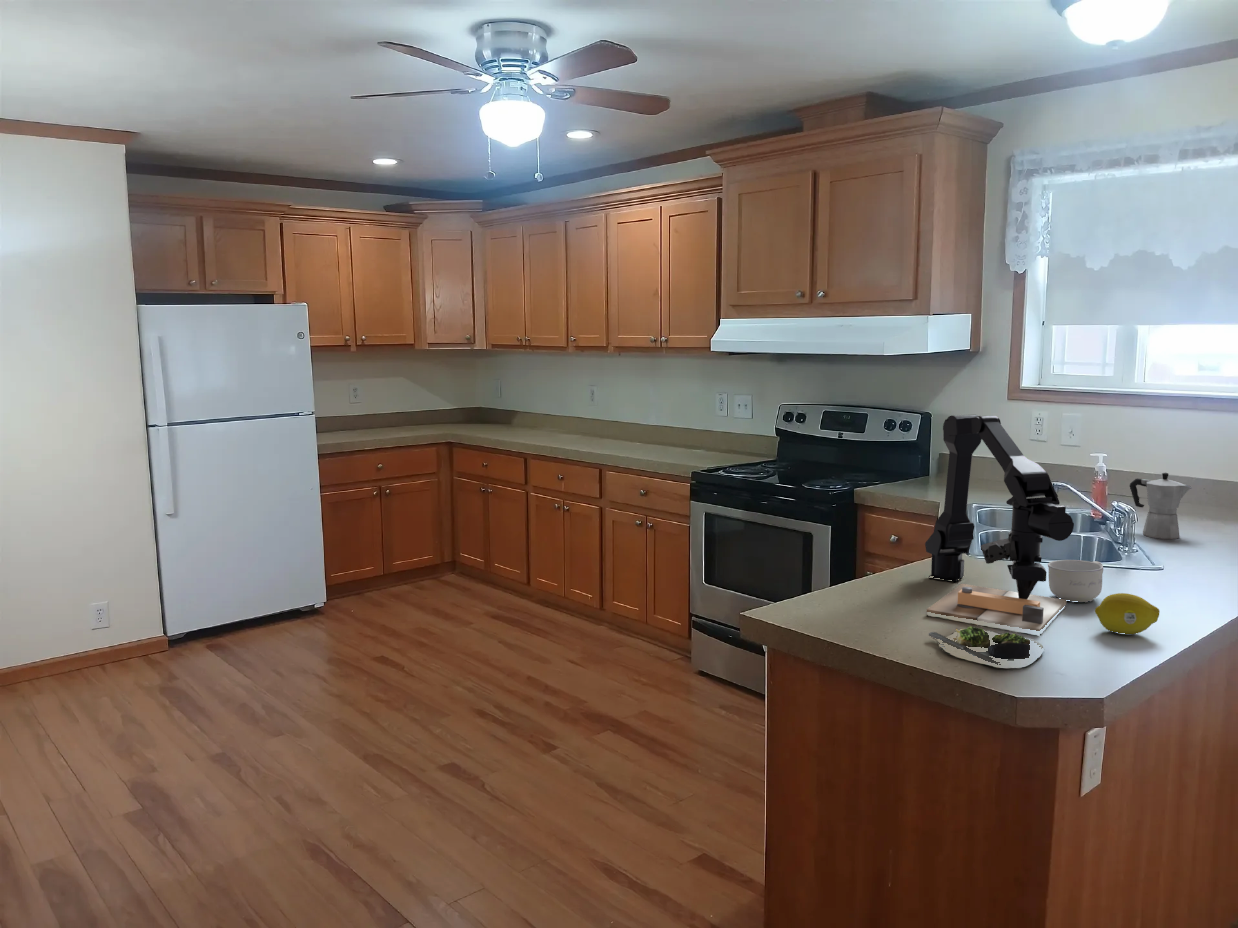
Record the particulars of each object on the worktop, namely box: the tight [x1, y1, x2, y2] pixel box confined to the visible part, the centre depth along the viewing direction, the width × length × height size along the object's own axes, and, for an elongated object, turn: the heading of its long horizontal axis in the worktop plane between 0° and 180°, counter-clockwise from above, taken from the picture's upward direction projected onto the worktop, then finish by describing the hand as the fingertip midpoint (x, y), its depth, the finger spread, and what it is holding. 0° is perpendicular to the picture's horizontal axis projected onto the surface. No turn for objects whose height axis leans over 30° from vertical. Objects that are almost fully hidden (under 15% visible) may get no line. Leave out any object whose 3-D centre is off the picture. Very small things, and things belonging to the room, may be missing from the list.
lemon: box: [1094, 592, 1160, 635], centre depth 174 cm, size 11×8×8 cm
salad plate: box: [928, 625, 1044, 665], centre depth 167 cm, size 19×18×5 cm
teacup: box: [1047, 559, 1104, 603], centre depth 197 cm, size 14×11×8 cm
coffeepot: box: [1129, 472, 1193, 540], centre depth 253 cm, size 15×9×18 cm, turn 44°
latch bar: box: [957, 587, 1040, 614], centre depth 185 cm, size 16×2×3 cm, turn 53°
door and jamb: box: [926, 583, 1067, 631], centre depth 189 cm, size 22×23×4 cm
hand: (1022, 602), depth 188 cm, fingers closed
